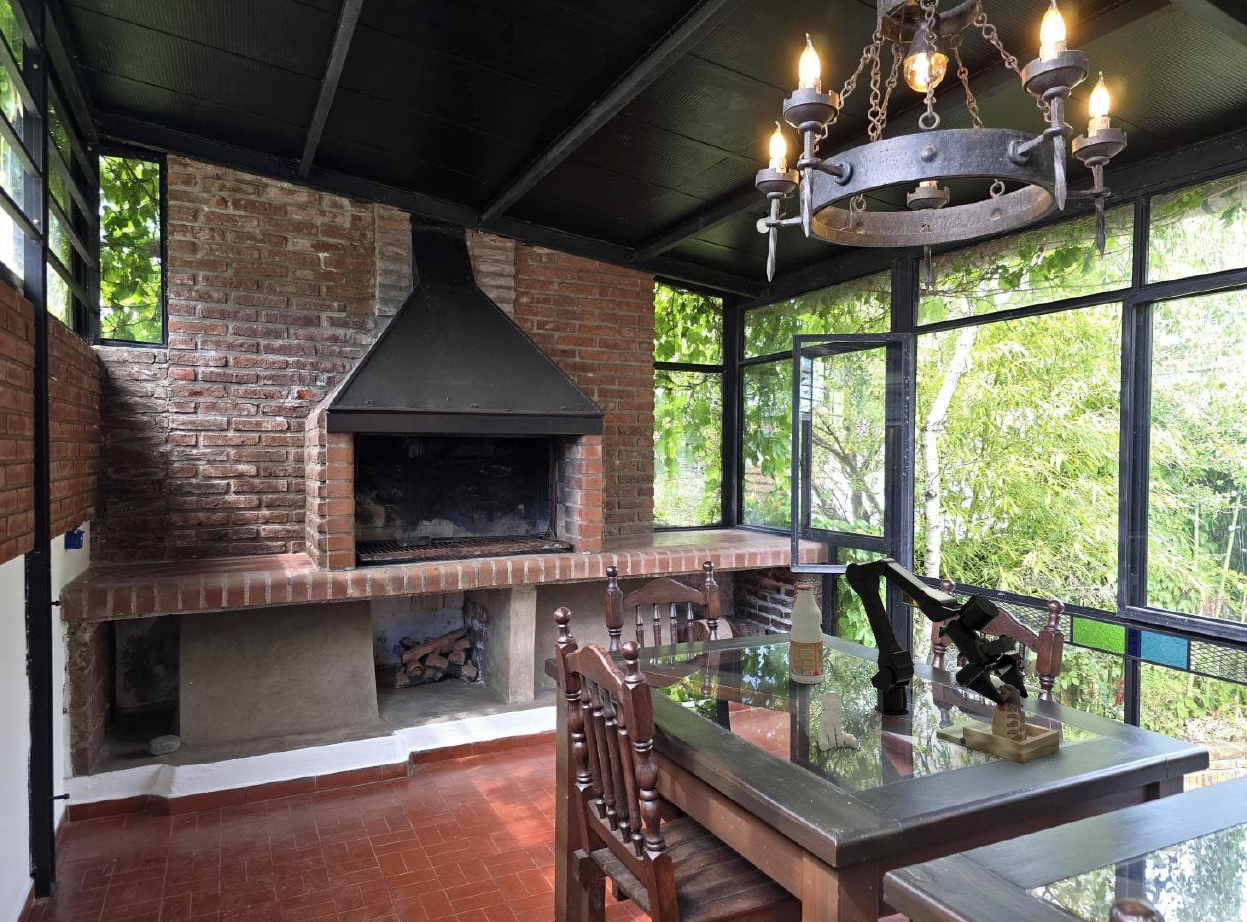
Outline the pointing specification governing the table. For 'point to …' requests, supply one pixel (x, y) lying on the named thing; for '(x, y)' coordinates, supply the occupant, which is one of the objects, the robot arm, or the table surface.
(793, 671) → the fruit juice
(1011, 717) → the figurine
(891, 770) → the table surface
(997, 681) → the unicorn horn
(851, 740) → the beige lumpy upright piece
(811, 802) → the table surface
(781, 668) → the table surface
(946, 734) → the shallow wooden tray
